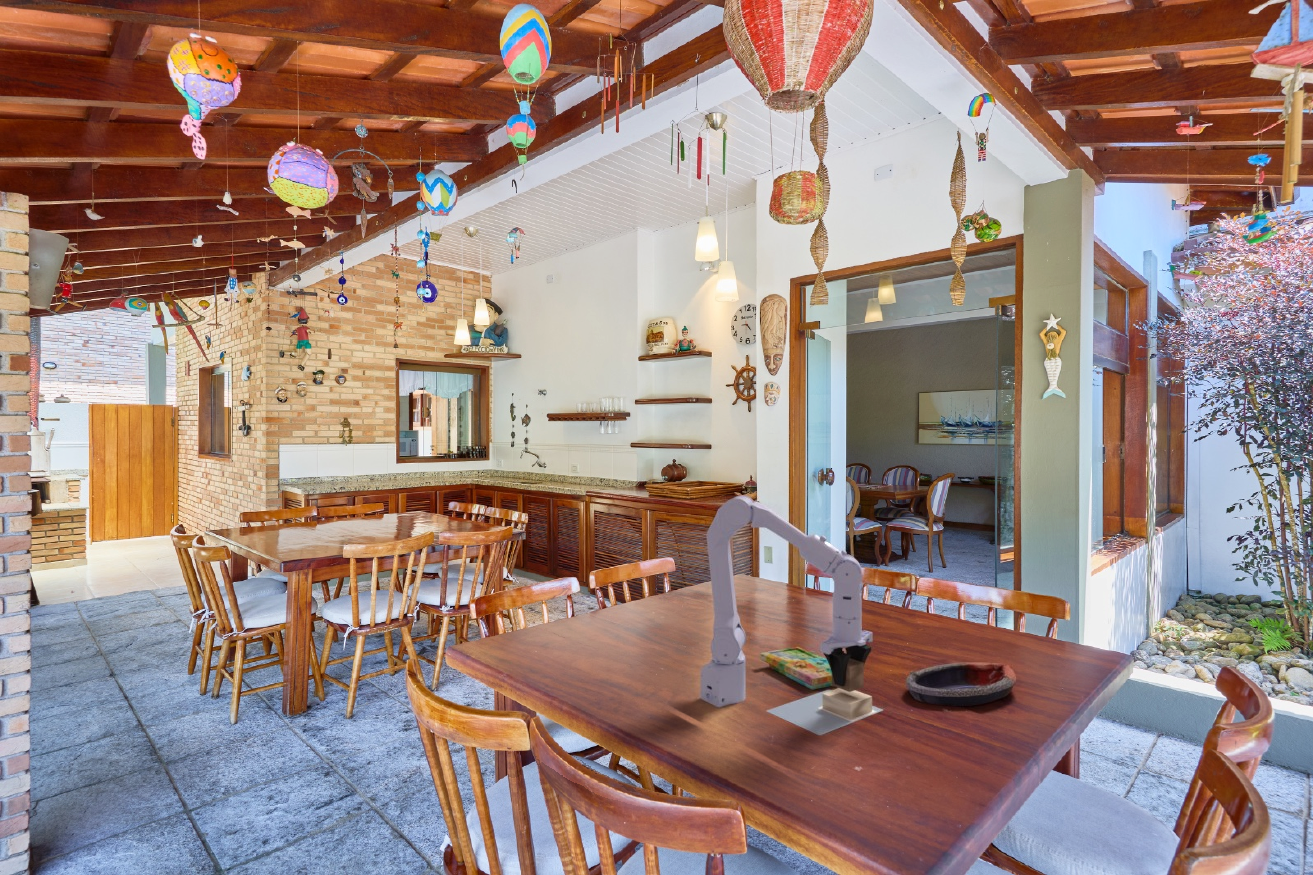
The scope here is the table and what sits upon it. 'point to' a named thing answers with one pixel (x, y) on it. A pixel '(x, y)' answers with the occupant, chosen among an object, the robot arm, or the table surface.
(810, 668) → the puzzle game
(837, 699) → the maple block
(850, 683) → the walnut block
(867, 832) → the table surface
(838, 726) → the board
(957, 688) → the dish
